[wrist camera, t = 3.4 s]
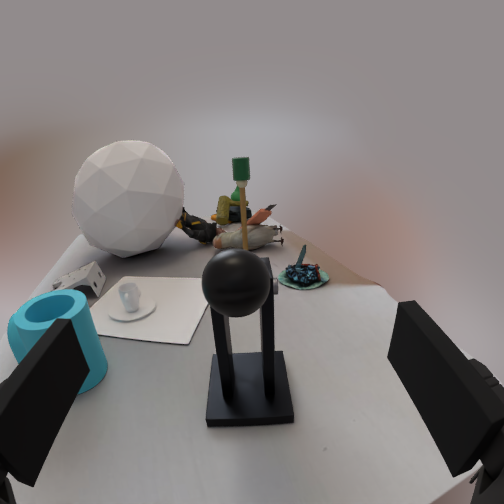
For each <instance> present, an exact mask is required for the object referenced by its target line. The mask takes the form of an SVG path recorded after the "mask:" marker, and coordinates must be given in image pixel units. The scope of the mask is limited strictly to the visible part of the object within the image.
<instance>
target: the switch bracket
mask: <svg viewBox="0 0 504 504" xmlns="http://www.w3.org/2000/svg"><path fill="white" fill-rule="evenodd" d="M260 259H261V260H262V261H263V262H264V264H265V265H266V267H267V269H268V272H269V275H270V291H269V294H268V297H267V299H266V301H265V302H264V304H263V305H262V306H261V307H260V327H261V351H262V352H255V353H234V354H232V346H231V336H230V326H229V317H228V316H225V315H222V314H220V313H218V312H217V311H215V310H214V309H213V308H212V307H211V306H210V309H211V316H212V324H213V332H214V339H215V346H216V354H213V357H212V366H211V374H210V383H209V392H208V401H207V410H206V423H207V426H208V427H222V426H254V425H270V424H283V423H293V422H294V412H293V406H292V401H291V395H290V389H289V384H288V378H287V372H286V367H285V361H284V356H283V351H275V345H274V295H276V294H278V280H277V278H273V275H272V270H271V265H270V261H269V258H268V257H266V258H260Z"/></svg>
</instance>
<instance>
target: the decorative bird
mask: <svg viewBox="0 0 504 504" xmlns="http://www.w3.org/2000/svg"><path fill="white" fill-rule="evenodd" d="M282 228H283V227H281V226H280V228H277V226H276V225H275V226H268V225H260V224H256V225H248V226H247V235H248V250H253V249H257V248H259V247H262V246H263V245H265V244H267V243H271V242H281V245H282V243H283V240H284V239H282V237H281V240H279V241H277V240H272V239H273V236H276V235H278V229H280V233H281V231H282ZM213 246H214V247H215V248H217V249H226V248H229V247H233V248H239V249H243V241H242V228H240V229H239V230H237V231H234V232H229V233H221V234H218V235H217V236H215V237H214V239H213Z"/></svg>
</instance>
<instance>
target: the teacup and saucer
mask: <svg viewBox="0 0 504 504" xmlns="http://www.w3.org/2000/svg"><path fill="white" fill-rule="evenodd" d="M207 304H208V302H207V301H206V299H205V297H204V294H203V291H202V278H169V277H132V276H124V277H123V278H122V279H120V280H119V281H118V282H117V283H116V284H115V285H114V286H113V287H112V288H111V289H110V290H109V291H107V292H106V293H105V294H104V295H103V296H102V297H101V298H100V299H99V300H98V301H97V302H96V303H95V304H94V305H93V306H92V307H90V308H89V309H90V312H91V316H92V319H93V322H94V325H95V328H96V331H97V334H100V335H107V336H114V337H122V338H130V339H139V340H148V341H157V342H167V343H179V344H188V343H189V341H190V339H191V337H192V335H193V333H194V331H195V329H196V327H197V325H198V323H199V321H200V319H201V317H202V315H203V313H204V310H205V308H206V306H207Z"/></svg>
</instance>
